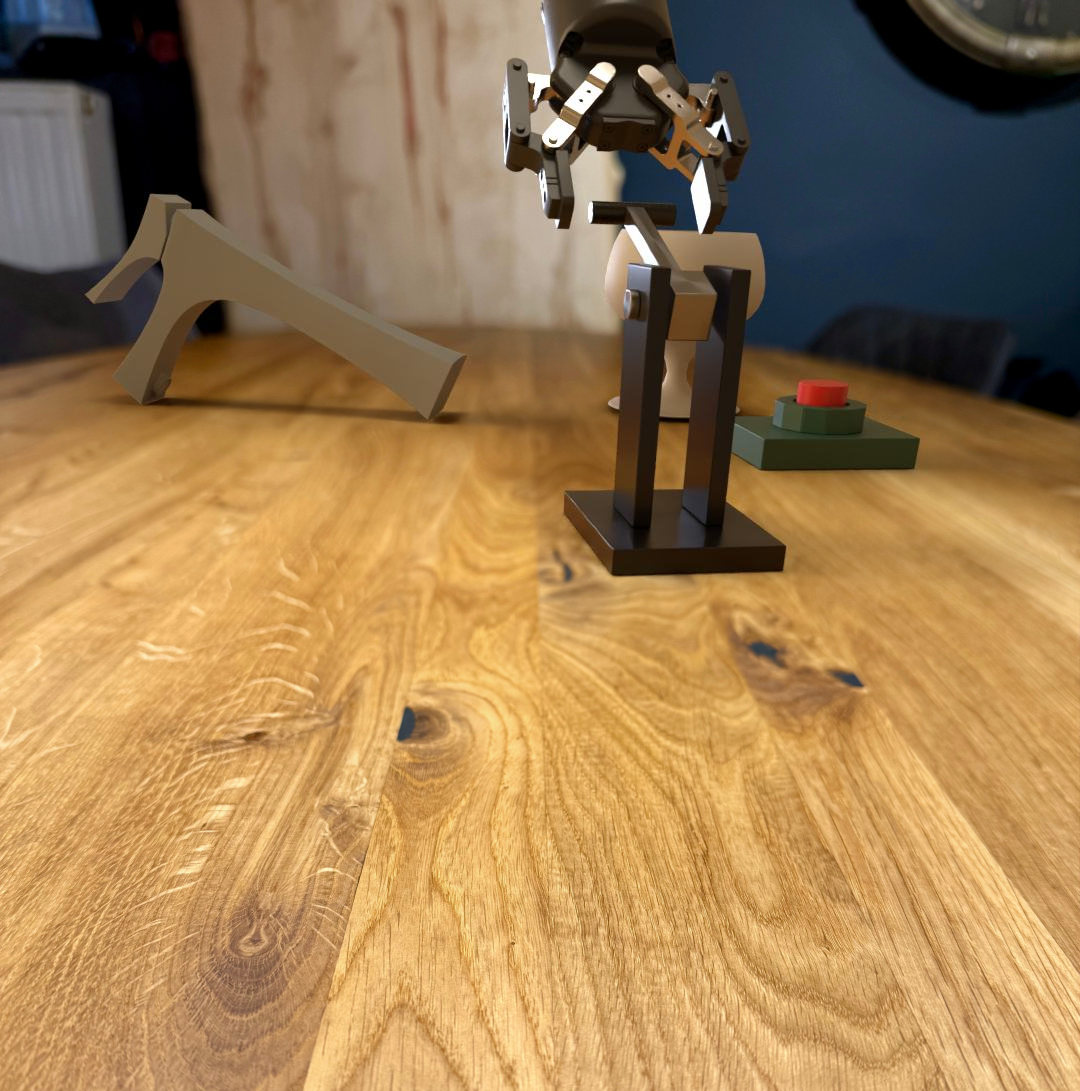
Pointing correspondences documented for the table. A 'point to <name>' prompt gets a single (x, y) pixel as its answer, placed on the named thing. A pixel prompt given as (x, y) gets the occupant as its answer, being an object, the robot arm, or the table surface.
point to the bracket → (700, 507)
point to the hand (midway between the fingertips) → (639, 220)
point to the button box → (821, 439)
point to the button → (822, 393)
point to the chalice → (690, 256)
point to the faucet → (262, 283)
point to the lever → (664, 265)
